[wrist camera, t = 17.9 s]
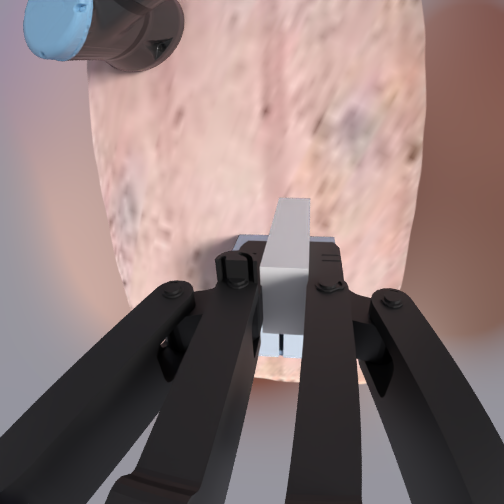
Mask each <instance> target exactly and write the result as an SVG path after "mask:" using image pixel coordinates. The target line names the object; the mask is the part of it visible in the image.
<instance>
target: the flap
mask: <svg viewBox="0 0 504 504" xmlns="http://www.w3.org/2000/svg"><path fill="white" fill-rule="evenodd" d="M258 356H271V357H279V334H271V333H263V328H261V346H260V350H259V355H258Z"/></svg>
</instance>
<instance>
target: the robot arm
mask: <svg viewBox="0 0 504 504" xmlns="http://www.w3.org/2000/svg"><path fill="white" fill-rule="evenodd" d="M23 30H24V37H25V40H26V43H27V45H28V47H29V49H30V50H31V51H32V52H33V53H34V54H35V55H36V56H38V57H40V58H43V59H51V60H57V61H69V60H104V61H105V62H107V63H108V64H109V65H111V66H112V67H114V68H116V69H119V70H123V71H144V70H148V69H151V68H153V67H155V66H157V65H159V64H160V63H162V62H163V61H164V60H166V59H167V58H168V57H169V56H170V55H171V54H172V53H173V51H174V50H175V49H176V47H177V45H178V44H179V42H180V39H181V37H182V34H183V30H184V14H183V10H182V8H181V6H180V4H179V3H178V1H177V0H28V3H27V6H26V9H25V17H24V22H23ZM215 263H216V271H217V279H218V282H217V284H216V286H215V288H213V289H209V290H203V291H196V292H194V291H193V286H192V285H191V284H190V283H188V282H185V281H178V280H176V281H169V282H167V283H164V284H162V285H160V286H159V287H157V288H156V289H155V290H154V291H153V292H152V293H151V294H150V295H148V296H147V297H146V298H145V299H144V300H143V301H142V302H141V303H140V304H138V305H137V306H136V307H135V308H134V309H133V310H132V311H131V312H130V313H129V314H128V315H126V316H125V317H124V318H123V319H122V320H121V321H120V322H119V323H118V324H117V325H115V327H113V328H112V329H111V330H110V331H109V332H108V333H107V334H106V335H105V336H104V337H103V338H101V339H100V341H98V342H97V343H96V344H95V345H94V346H93V347H92V348H91V349H90V350H89V351H88V352H87V353H86V354H84V356H82V357H81V358H80V359H79V360H78V361H77V362H76V363H75V364H74V365H73V366H72V367H71V368H70V369H69V370H68V371H67V372H66V373H65V374H64V375H63V376H62V377H61V378H60V379H58V380H57V381H56V382H55V383H54V384H53V385H52V386H51V387H50V388H49V389H48V390H47V391H46V392H45V393H44V394H43V395H42V396H41V397H40V398H39V399H38V400H37V401H36V402H35V403H34V404H33V405H32V406H31V407H30V408H29V409H28V410H27V411H26V412H25V413H24V414H23V415H22V416H21V417H20V418H19V419H18V420H17V421H16V422H15V423H14V424H13V425H12V426H11V427H10V428H9V429H8V430H7V431H6V432H5V433H4V434H3V435H2V436H1V437H0V504H86V503H87V502H88V501H89V499H90V498H91V497H92V496H93V495H94V493H95V492H96V491H97V490H98V488H99V487H100V486H101V484H102V483H103V482H104V481H105V480H106V478H107V477H108V476H109V475H110V473H111V472H112V471H113V470H114V468H115V467H116V466H117V464H118V463H119V462H120V461H121V460H122V458H123V457H124V456H125V455H126V453H127V452H128V451H129V450H130V448H131V447H132V446H133V444H134V443H135V442H136V441H137V439H138V438H139V437H140V436H141V434H142V433H143V432H144V430H145V429H146V428H147V427H148V425H149V424H150V423H151V422H152V420H153V419H154V417H155V416H156V415H157V414H158V412H159V411H160V412H159V415H158V417H157V419H156V422H155V424H154V426H153V428H152V431H151V433H150V436H149V438H148V440H147V443H146V445H145V447H144V450H143V452H142V454H141V457H140V459H139V461H138V464H137V466H136V468H135V470H134V471H133V472H132V473H131V474H128V475H124V476H121V477H120V478H119V479H118V480H117V481H116V482H115V484H114V485H113V487H112V489H111V490H110V493H109V495H108V497H107V500H106V502H105V504H224V502H225V499H226V495H227V490H228V486H229V482H230V478H231V474H232V470H233V466H234V462H235V457H236V453H237V449H238V445H239V440H240V436H241V432H242V427H243V423H244V419H245V414H246V410H247V405H248V401H249V395H250V392H251V387H252V383H253V378H254V374H255V369H256V364H257V360H258V355H259V350H260V346H261V328H263V333H271V334H288V335H303V348H302V360H301V372H300V383H299V394H298V403H297V413H296V423H295V431H294V440H293V448H292V456H291V464H290V471H289V479H288V486H287V493H286V499H285V504H362V497H361V495H362V491H361V490H362V456H361V422H360V404H359V387H358V373H357V361H356V358H357V359H358V361H359V365H360V368H361V370H362V373H363V375H364V377H365V380H366V382H367V385H368V387H369V390H370V392H371V395H372V397H373V399H374V402H375V405H376V407H377V410H378V412H379V415H380V417H381V420H382V423H383V425H384V428H385V430H386V433H387V436H388V438H389V441H390V444H391V446H392V449H393V452H394V455H395V457H396V460H397V463H398V465H399V468H400V471H401V474H402V477H403V480H404V483H405V485H406V488H407V491H408V494H409V497H410V500H411V503H412V504H504V444H503V442H502V440H501V438H500V436H499V434H498V432H497V431H496V429H495V427H494V425H493V423H492V422H491V420H490V418H489V416H488V415H487V413H486V411H485V409H484V408H483V406H482V404H481V403H480V401H479V399H478V398H477V396H476V394H475V393H474V392H473V389H472V388H471V386H470V385H469V383H468V381H467V380H466V378H465V377H464V375H463V373H462V372H461V370H460V369H459V367H458V366H457V364H456V363H455V361H454V359H453V358H452V356H451V355H450V353H449V352H448V351H447V349H446V347H445V346H444V345H443V343H442V342H441V340H440V339H439V337H438V336H437V334H436V333H435V331H434V330H433V328H432V327H431V326H430V324H429V323H428V321H427V320H426V319H425V317H424V316H423V314H422V313H421V312H420V310H419V309H418V308H417V306H416V305H415V303H414V302H413V301H412V299H411V298H410V297H409V296H408V295H407V294H405V293H404V292H402V291H400V290H397V289H392V288H384V289H380V290H377V291H376V292H374V293H373V294H372V297H371V298H368V297H364V296H360V295H357V294H355V293H353V292H351V291H350V290H349V289H348V285H347V283H346V282H345V281H344V277H343V270H342V262H341V256H340V249H339V247H338V246H337V245H336V244H335V243H334V242H314V241H310V198H279V201H278V204H277V208H276V211H275V215H274V219H273V222H272V226H271V229H270V233H269V236H268V240H267V241H249V240H248V241H247V242H246V243H244V244H243V245H242V246H241V247H240V249H239V250H234V251H228V252H224V253H223V254H221V255H219V256H218V257H217V258H216V259H215ZM164 339H166V340H165V341H164ZM163 341H164V343H163V344H161V343H162V342H163ZM160 344H161V345H160Z"/></svg>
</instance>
